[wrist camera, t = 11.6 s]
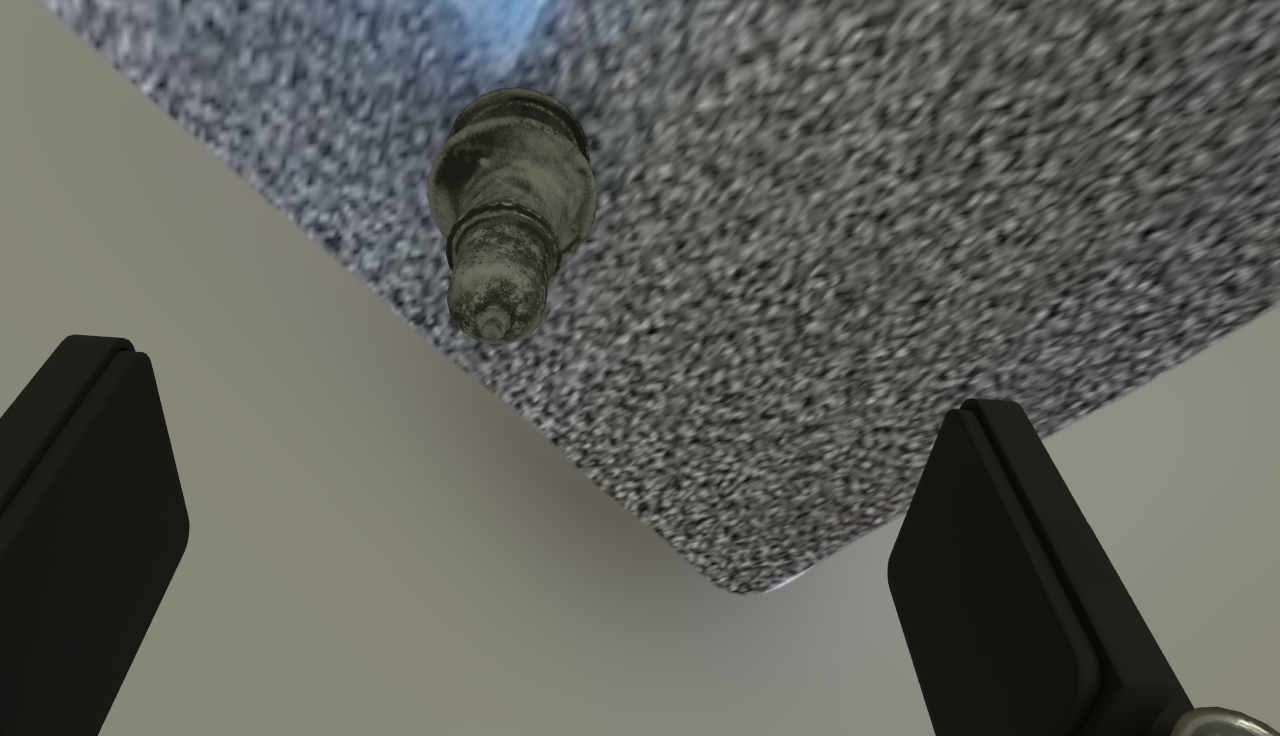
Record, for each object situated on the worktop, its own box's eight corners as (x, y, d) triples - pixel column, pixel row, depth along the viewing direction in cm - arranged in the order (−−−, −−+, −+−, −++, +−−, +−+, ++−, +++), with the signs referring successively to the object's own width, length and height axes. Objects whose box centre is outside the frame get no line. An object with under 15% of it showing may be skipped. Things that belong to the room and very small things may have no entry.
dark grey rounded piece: (595, 228, 37) (594, 422, 28) (445, 222, 37) (393, 417, 27) (600, 83, 34) (601, 248, 24) (435, 75, 34) (370, 240, 24)
